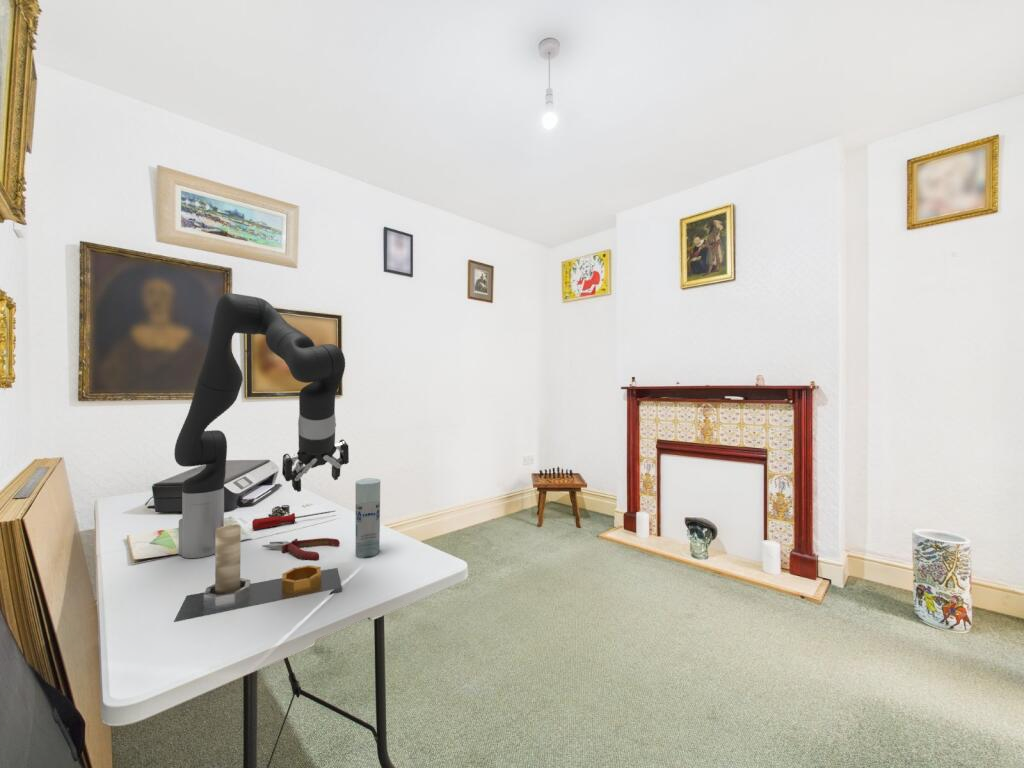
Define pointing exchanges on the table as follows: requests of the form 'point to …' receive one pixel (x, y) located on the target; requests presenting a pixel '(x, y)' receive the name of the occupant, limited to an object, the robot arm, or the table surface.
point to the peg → (227, 559)
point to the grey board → (261, 592)
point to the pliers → (299, 553)
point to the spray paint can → (367, 517)
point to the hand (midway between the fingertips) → (316, 483)
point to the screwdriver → (278, 520)
